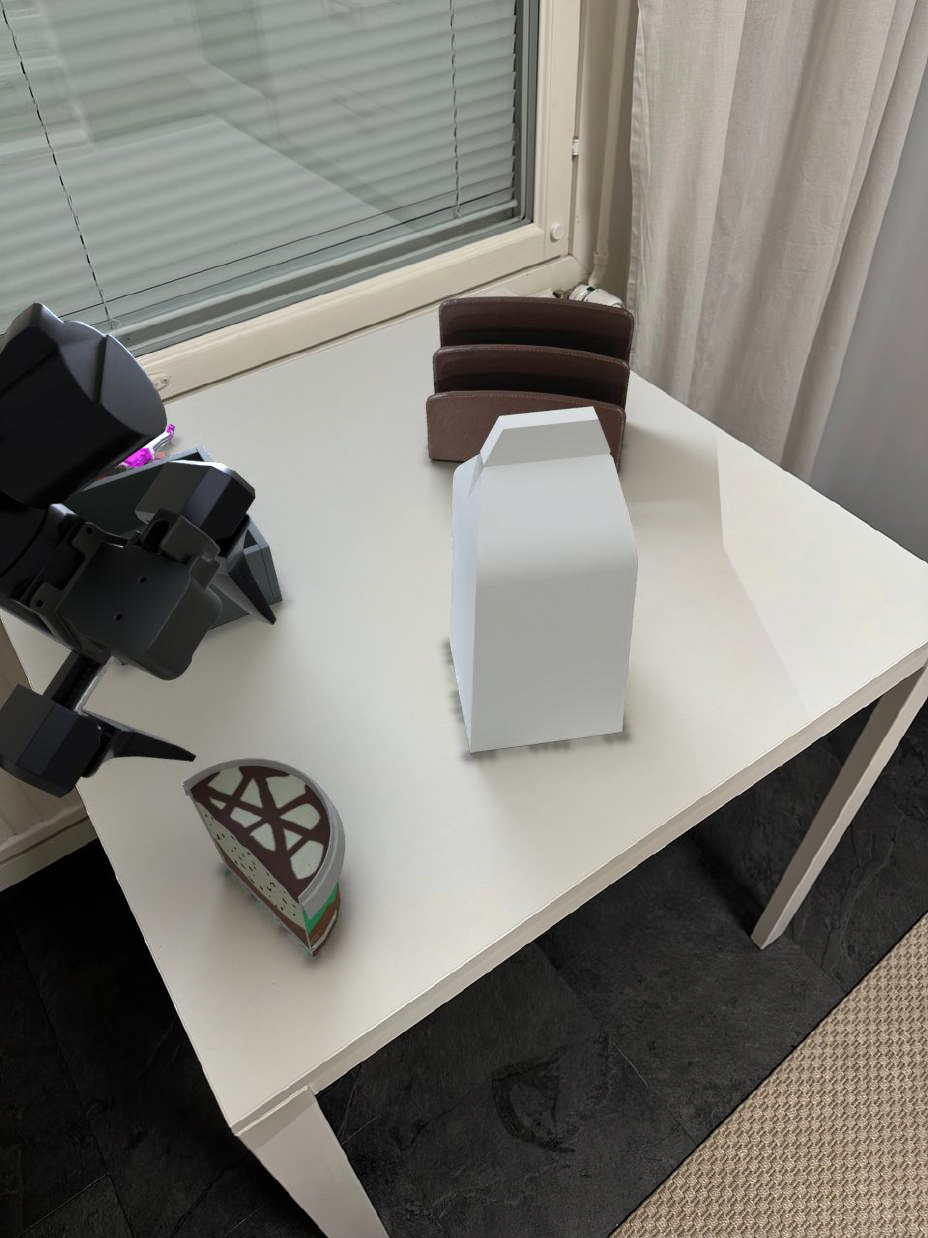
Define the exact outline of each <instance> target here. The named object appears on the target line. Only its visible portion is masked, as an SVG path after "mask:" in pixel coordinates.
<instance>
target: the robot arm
mask: <svg viewBox="0 0 928 1238" xmlns="http://www.w3.org/2000/svg"><path fill="white" fill-rule="evenodd" d="M167 417H168V416H167V412H166V408H165V405H164V403H163V399H162V397H161V395H160V393H159V391H158V390H157V388H156V386H155V384H154V382H153V381H152V379H151V378H150V376H149V375H148V373H147V372H146V370H145V369H144V367H142V365H141V364H140V363H139V361H138V360H137V359H136V358H135V356H134V355H133V354H132V353H131V352H130V351H129V350H128V349H127V348H126V347H125V346H124V345H123V343H121V342H120V341H119V340H118V339H117V338H116V337H114V335H112V334H110V333H107V334H106V335H105V334H104V333H102V332H101V331H100V330H99V329H96V328H95V327H93V326H91V325H90V324H87V323H85V322H83V321H79V320H76V319H67V320H63V321H62V320H61V319H60V318H59V317H58V316H57V315H55V314H54V313H53V312H52V311H51V309H49V308H48V307H47V306H46V305H44V304H43V303H40V302H32V304H31V305H29V306H28V307H27V308H25V309H24V310H23V311H22V312H20V313H19V314H18V315H17V316H16V317H14V319H13V320H12V321H11V323H10V324H9V326H8V328H7V329H6V330H5V331H4V333H2V334H1V335H0V610H1V611H3V612H5V613H6V614H9V615H10V616H11V617H13V618H15V619H17V620H18V621H20V622H22V623H24V624H25V625H27V626H29V627H30V628H32V629H34V630H36V631H38V632H39V633H41V634H42V635H44V636H46V637H47V638H49V639H51V640H52V641H53V642H56V643H58V644H59V645H61V646H63V647H65V648H66V649H68V650H69V651H70V652H69V653H68V655H67V656H66V657H65V660H64V661H63V663H62V664H61V665H60V667H59V668H58V670H57V671H56V673H55V675H54V676H53V678H52V679H51V680H50V682H49V684H48V685H47V687H46V688H45V690H44V692H43V693H42V694H40V693H39V692H36V691H34V690H33V689H30V688H28V687H26V686H24V685H22V684H21V683H17V684H16V686H15V687H14V689H13V690H12V692H10V694H9V696H8V697H7V699H6V700H5V702H3V704H2V706H1V708H0V769H1V770H3V771H5V772H6V773H8V774H9V775H11V776H12V777H14V778H16V779H17V780H19V781H20V782H21V781H22V782H23V783H25V784H26V785H29V786H31V787H32V788H35V789H37V790H40V791H42V792H44V793H47V794H49V795H51V796H54V797H55V798H59V799H61V798H63V797H64V796H67V795H69V794H70V793H71V792H73V791H74V788H75V787H76V785H77V783H78V782H79V781H80V779H81V778H83V779H89V778H92V777H93V776H95V775H96V774H97V773H98V771H99V770H100V768H101V766H102V765H103V764H105V763H107V762H109V761H111V760H113V759H119V758H146V759H147V758H150V759H159V760H168V761H179V762H188V763H189V762H190V763H193V762H195V760H196V758H197V755H196V754H195V753H193V752H192V751H189V750H187V749H185V748H184V747H182V746H180V745H178V744H176V743H173V742H172V741H170V740H168V739H165V738H163V737H160V736H158V735H155V734H153V733H149V732H147V731H144V730H141V729H139V728H136V727H133V726H131V725H129V724H125V723H123V722H120V721H118V720H115V719H111V718H110V717H107V716H104V715H101V714H98V713H97V712H93V711H91V710H88V709H86V708H84V707H85V705H86V703H87V702H88V701H89V699H90V698H91V696H92V694H93V693H94V691H95V690H96V688H97V687H98V685H99V683H100V682H101V680H102V679H103V677H104V676H105V674H106V673H107V671H108V669H109V668H110V666H111V664H112V663H113V661H114V660H115V659H117V660H119V661H120V660H121V661H123V662H126V663H127V664H128V665H130V666H132V667H134V668H136V669H138V670H141V671H142V672H145V673H148V674H149V675H151V676H153V677H154V678H156V679H159V680H162V681H173V680H176V679H178V678H180V677H181V676H183V675H184V673H185V672H186V671H187V670H188V668H189V667H190V665H191V664H192V662H193V657H194V654H195V652H196V650H197V649H198V648H199V646H200V644H201V643H202V641H203V639H204V637H205V636H206V635H207V633H208V631H209V630H208V629H209V628H210V626H212V625H214V624H215V623H216V621H217V619H218V618H219V616H220V614H221V610H222V602H221V600H220V598H219V597H218V596H217V595H216V594H215V593H214V592H213V591H212V590H211V589H210V588H209V585H210V584H211V583H212V584H213V585H215V586H216V587H217V588H218V589H219V590H221V591H222V592H223V593H224V594H225V595H227V596H228V597H229V598H230V599H231V600H233V601H234V602H235V603H236V604H237V605H239V606H240V607H241V608H242V609H244V610H245V611H247V612H248V613H249V614H250V615H251V616H252V617H254V618H255V619H258V620H259V621H261V622H262V623H264V624H267V625H271V626H274V625H275V623H277V619H278V618H277V617H276V615H275V613H274V611H273V610H272V608H271V605H269V604H268V602H267V600H266V598H265V596H264V595H263V593H262V591H261V589H260V587H259V585H258V583H257V581H256V580H255V578H254V576H253V574H252V572H251V569H250V567H249V564H248V562H247V559H246V556H245V554H244V550H243V546H244V540H245V535H246V532H247V530H248V528H249V527H250V525H251V519H252V517H251V516H250V514H249V513H248V511H249V509H250V507H252V504H253V503H254V502H255V499H256V489H255V488H254V487H253V486H252V485H251V483H249V481H247V480H245V478H243V476H241V475H240V474H239V473H238V472H237V471H236V470H234V469H233V468H230V467H229V466H227V465H225V464H223V463H221V462H214V463H210V462H198V461H187V460H178V461H168V462H166V464H165V465H164V467H163V468H162V470H161V471H160V473H159V474H158V476H157V477H156V479H155V480H154V482H153V483H152V485H151V486H150V488H149V489H148V491H147V492H146V494H145V495H144V497H143V498H142V500H141V501H140V503H139V504H138V506H137V507H136V509H135V512H136V514H137V516H138V518H139V519H140V520H142V521H143V522H144V523H146V524H147V526H146V528H145V529H144V531H143V532H142V533H141V532H138V531H135V532H134V534H133V535H132V537H131V538H130V539H127V538H123V537H120V536H117V535H114V534H110V533H107V532H104V531H103V530H101V529H100V528H99V527H97V526H96V525H94V524H93V523H90V522H88V521H87V520H85V519H84V518H83V517H81V516H80V515H77V514H74V513H73V512H72V511H70V510H69V509H68V508H66V507H65V506H63V505H62V504H61V503H65V502H67V501H68V500H70V499H71V498H73V497H74V496H75V495H77V494H78V493H80V492H81V491H82V490H84V489H85V488H87V487H88V486H90V485H91V484H92V483H94V482H95V481H97V480H98V479H99V478H101V477H102V476H104V475H105V474H106V473H108V472H109V471H111V470H112V469H114V468H115V467H116V466H118V465H119V464H121V463H122V462H123V461H125V460H126V459H128V458H129V457H130V456H132V455H133V454H135V453H136V452H138V451H139V450H140V449H142V448H143V447H145V446H146V445H147V444H149V443H150V442H152V441H153V440H155V439H156V438H157V437H159V436H160V435H162V434H163V433H165V432H166V430H167V428H168V418H167ZM250 517H251V518H250Z"/></svg>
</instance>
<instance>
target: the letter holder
mask: <svg viewBox="0 0 928 1238" xmlns="http://www.w3.org/2000/svg"><path fill="white" fill-rule="evenodd" d="M634 317H635V316H634V315H633V313H632V312H630V311H629V310H628V309H626V308H624V307H618V306H613V305H610V304H609V305H608V304H603V303H598V302H594V301H593V302H592V301H586V300H579V299H569V298H560V297H549V296H548V297H547V296H545V297H544V296H522V295H521V296H520V295H519V296H517V295H515V296H513V295H512V296H511V295H510V296H509V295H498V296H497V295H495V296H494V295H493V296H491V295H490V296H489V295H487V296H486V295H485V296H465V297H453V298H447V299H445V300H443V301H442V302H440V304H439V305H438V327H439V348H438V349H436V350H435V352H434V353H433V355H432V374H433V377H432V378H433V394H430V395H429V396H428V397H427V398H426V401H425V415H426V428H427V429H426V431H427V432H426V433H427V437H426V439H427V453H428V459H430V460H440V461H441V460H442V461H453V462H463V463H465V462H466V461H468V460H470V459H471V458H473V457H475V456H476V455H478V454H481V453H480V451H481V449H482V447H483V445H484V443H485V442H486V440H487V438H488V436H489V434H490V432H491V430H492V429H493V427H494V425H495V423H496V421H497V419H498V417H499V416H505V415H515V414H524V413H534V412H544V411H553V410H563V409H573V408H582V407H592V406H593V408H594V410H595V412H596V415H597V417H598V419H599V422H600V424H601V427H602V430H603V432H604V435H605V438H606V440H607V443H608V445H609V448H610V453H609V454H610V455H611V456H612V457H613V460H614V464H615V467H616V471H617V474H619V473H620V469H621V459H622V452H623V445H624V437H625V432H626V431H625V429H626V423H627V413H626V406H627V397H628V390H629V383H630V376H631V366H630V358H631V351H632V345H633V338H634V331H635V318H634Z"/></svg>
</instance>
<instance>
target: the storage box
mask: <svg viewBox="0 0 928 1238" xmlns="http://www.w3.org/2000/svg"><path fill="white" fill-rule="evenodd" d="M178 460H187V461H198V462H210V463H215V461H214V459H213V458H212V457H211V455H210V453H209V452H208V450H207V449H206V447H205V446H204V445H200V446H197V447H194V448H191V449H188V450H184V451H182V452H179V453H176V454H172V455H170V456H166V458H164V459H161V460H158V461H155V462H154V461H152V462H148V463H146V464H144V465H143V466H140V467H137V468H134V469H131V470H128V471H125V472H122V473H119V474H116V475H113V476H110V477H107V478H104V479H101V480H98V481H95V482H94V483H92V484H91V485H90V486H88V487H87V488H85V489H84V490H82V491H81V492H80V493H78V494H77V495H75V496H74V497H73V498H71V499H70V500H68V501H67V502H65V503H61V504H62V505H63V506H65V507H66V508H68V509H69V510H70V511H72V512H73V513H74V514H77V515H80V516H81V517H83V518H84V519H85V520H87V521H88V522H90V523H93V524H94V525H96V526H97V527H99V528H100V529H101V530H103V531H104V532H107V533H110V534H114V535H117V536H120V537H123V538H127V539H130V538H131V537H132V535H133V534H134V532H135V531H138V532H141V533H142V532H143V531H144V529H145V528H146V526H147V524H146V523H144V522H143V521H142V520H140V519H139V518H138V516H137V514H136V512H135V509H136V507H137V506H138V504H139V503H140V501H141V500H142V498H143V497H144V495H145V494H146V492H147V491H148V489H149V488H150V486H151V485H152V483H153V482H154V480H155V479H156V477H157V476H158V474H159V473H160V471H161V470H162V468H163V467H164V465H165V464H166V462H168V461H178ZM250 518H251V525H250V527H249V528H248V530H247V532H246V535H245V540H244V546H243V550H244V554H245V556H246V559H247V562H248V564H249V567H250V569H251V572H252V574H253V576H254V578H255V580H256V581H257V583H258V585H259V587H260V589H261V591H262V593H263V595H264V596H265V598H266V600H267V602H268V604H269V606H271V605H273V604H276V603H279V602H280V601H283V597H282V592H281V588H280V583H279V579H278V576H277V571H276V568H275V564H274V559H273V555H272V550H271V547H270V545H269V543H268V541H267V540H266V539H265V536H264V535H263V534H262V533H261V531H260V530H259V528H258V526H257V525H256V523H255V522H254V520H253V519H252V517H251V516H250ZM209 588H210V589H211V590H212V591H213V592H214V593H215V594H216V595H217V596H218V597H219V598H220V600H221V602H222V610H221V614H220V616H219V618H218V619H217V621H216V623H215V624H214V625H212V626H210V628H209V629H208V631H210V630H213V629H215V628H217V627H219V626H222V625H224V624H227V623H229V622H232V621H234V620H236V619H239V618H241V617H244V616H246V615H249V614H250V613H248V612H247V611H245V610H244V609H242V608H241V607H240V606H239V605H237V604H236V603H235V602H234V601H233V600H231V599H230V598H229V597H228V596H227V595H225V594H224V593H223V592H222V591H221V590H219V589H218V588H217V587H216V586H215V585H213V584H212V583H211V584H210V585H209ZM119 662H120V664H121V666H125V665H127V664H128V663H126V662H123V661H121V660H119Z"/></svg>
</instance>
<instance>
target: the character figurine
mask: <svg viewBox="0 0 928 1238" xmlns="http://www.w3.org/2000/svg"><path fill="white" fill-rule="evenodd" d="M175 429H176V426H175V425H173V424H172V423H170V424H168V425H167V428H166V431H165V432H164V433H163V434H162V435H160V436H159V437H157V438H156V439H155V440H153V441H152V442H150V443H149V444H147V445H146V446H145V447H143V448H142V449H140V450H139V451H138V452H136V453H135V454H133V455H132V456H130V457H129V458H128V459H126V460H125V461H123V462H122V463H121V464H119V465H118V466H116V467H115V468H114V469H112V470H111V471H109V472H108V473H106V474H105V475H104V476H102V477H101V478H99V479H98V480H101V479H104V478H107V477H110V476H113V475H116V474H119V473H122V472H125V471H128V470H131V469H134V468H137V467H140V466H143V465H146V464H148V463H150V461H153V460H154V461H153V462H155V461H158V460H161V459H164V458H167V457H168V455H167V453H166V452H164V451H160V449H161V447H163V446H165V445H166V444H167V442H169V441H171V439H172V438H173V437H174V434H175ZM98 480H97V481H98Z"/></svg>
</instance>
